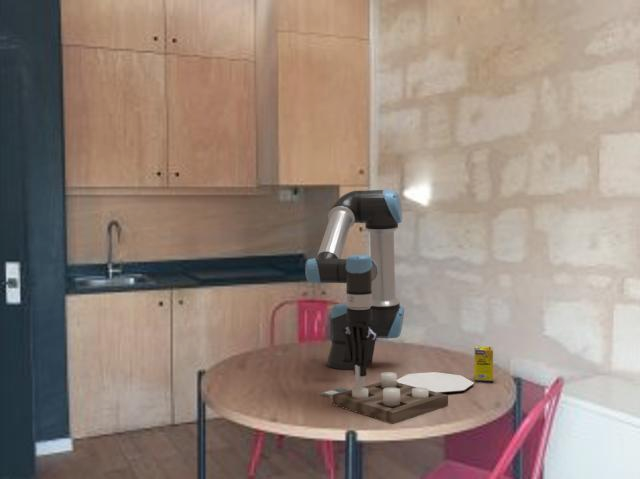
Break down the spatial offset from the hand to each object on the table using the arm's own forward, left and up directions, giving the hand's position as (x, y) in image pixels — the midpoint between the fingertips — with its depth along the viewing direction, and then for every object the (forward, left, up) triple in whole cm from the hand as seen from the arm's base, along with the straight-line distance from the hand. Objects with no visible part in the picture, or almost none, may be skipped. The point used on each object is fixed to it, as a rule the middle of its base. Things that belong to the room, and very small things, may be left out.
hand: (360, 386), depth 199 cm
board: (+6, +6, -6) cm, 10 cm away
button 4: (+13, +12, -5) cm, 18 cm away
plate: (+1, +33, -6) cm, 34 cm away
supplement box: (+9, +49, -6) cm, 50 cm away
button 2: (0, +12, -3) cm, 12 cm away
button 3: (+13, 0, -3) cm, 13 cm away
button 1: (0, 0, -5) cm, 5 cm away
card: (-12, +3, -6) cm, 13 cm away
